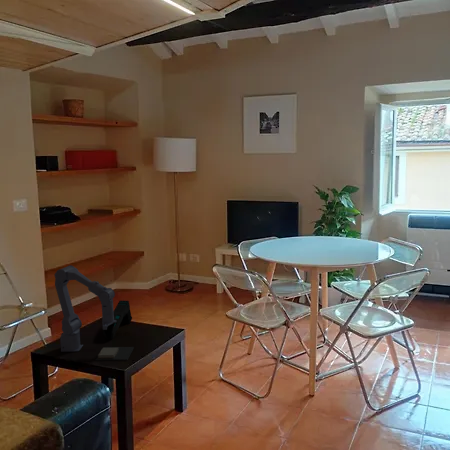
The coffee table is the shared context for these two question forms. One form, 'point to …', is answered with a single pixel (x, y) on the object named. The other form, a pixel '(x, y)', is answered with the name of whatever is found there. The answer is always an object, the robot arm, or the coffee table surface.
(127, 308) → the gun
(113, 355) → the tile
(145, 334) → the coffee table surface
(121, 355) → the mat
